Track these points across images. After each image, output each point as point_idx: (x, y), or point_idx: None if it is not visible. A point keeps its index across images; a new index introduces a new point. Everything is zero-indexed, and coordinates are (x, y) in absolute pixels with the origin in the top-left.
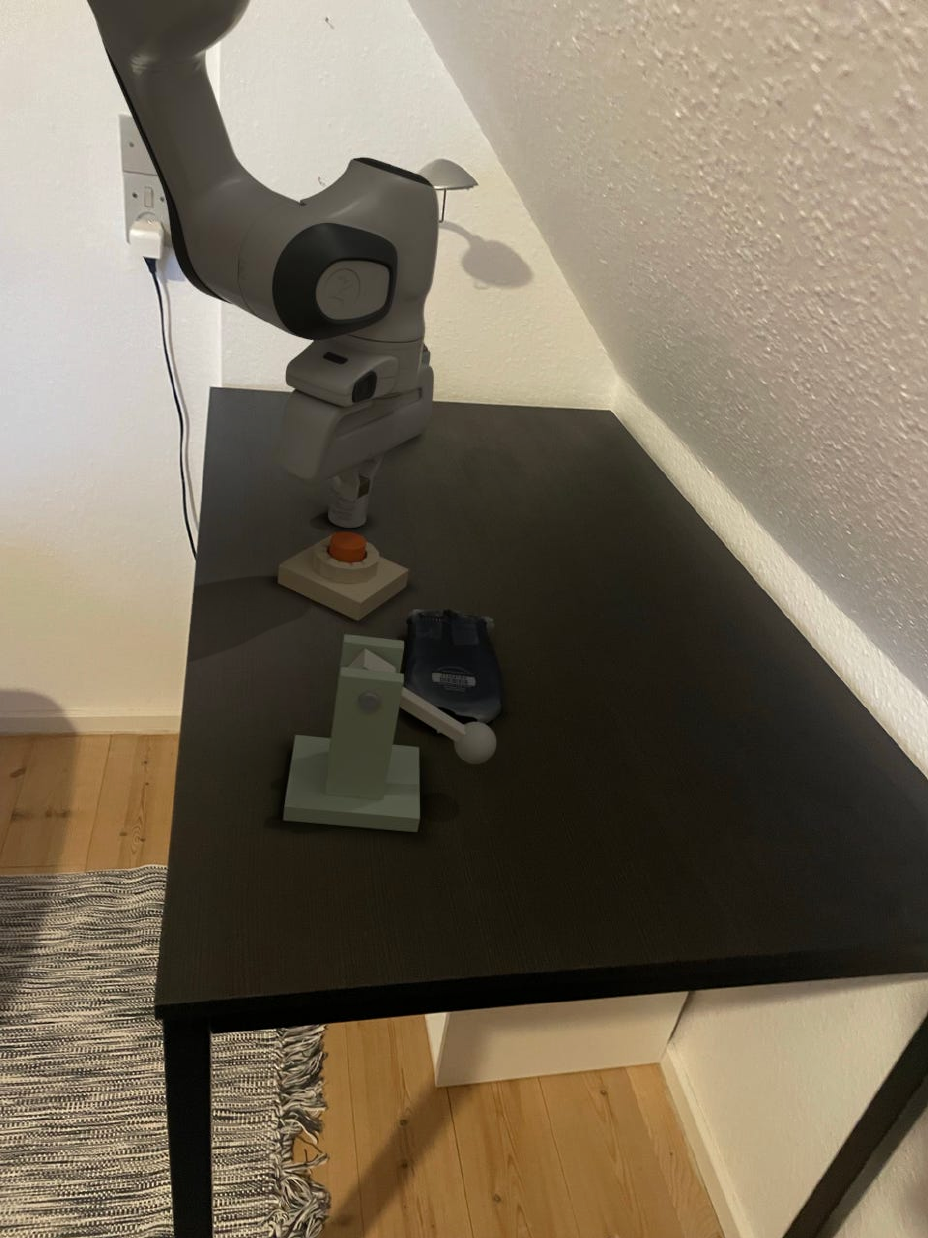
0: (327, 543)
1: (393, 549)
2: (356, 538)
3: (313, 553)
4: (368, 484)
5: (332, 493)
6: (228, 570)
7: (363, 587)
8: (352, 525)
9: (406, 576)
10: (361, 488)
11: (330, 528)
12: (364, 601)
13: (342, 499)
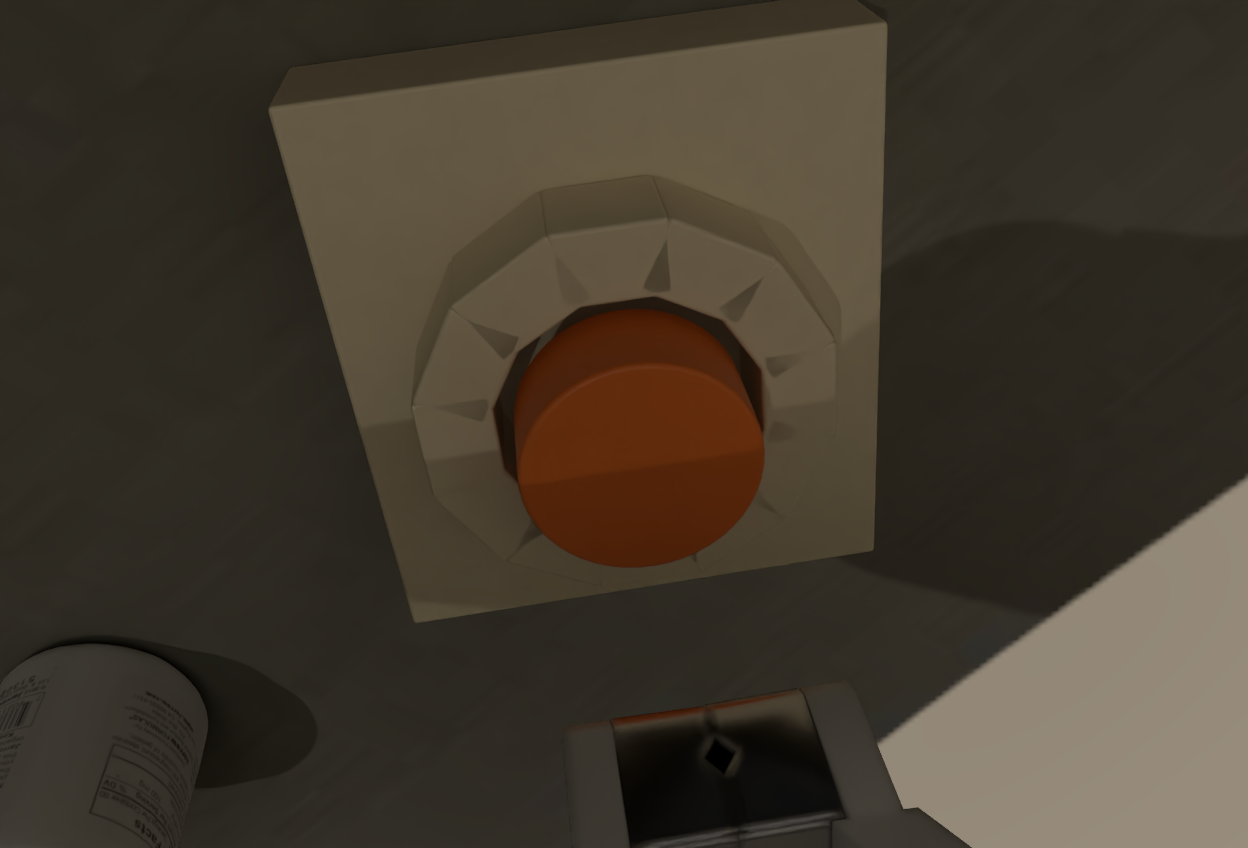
0: None
1: (48, 406)
2: (578, 462)
3: None
4: (647, 800)
5: None
6: (906, 644)
7: (722, 139)
8: (135, 660)
9: (298, 88)
10: (776, 775)
11: (245, 690)
12: (839, 24)
13: (158, 816)
